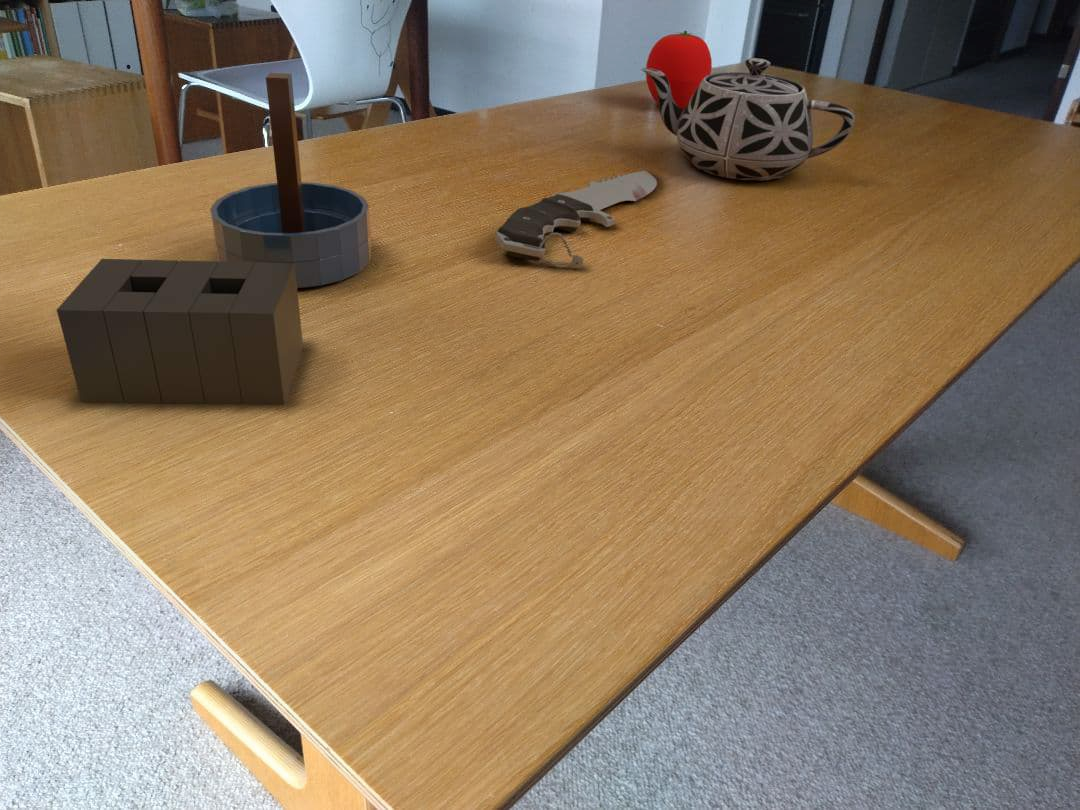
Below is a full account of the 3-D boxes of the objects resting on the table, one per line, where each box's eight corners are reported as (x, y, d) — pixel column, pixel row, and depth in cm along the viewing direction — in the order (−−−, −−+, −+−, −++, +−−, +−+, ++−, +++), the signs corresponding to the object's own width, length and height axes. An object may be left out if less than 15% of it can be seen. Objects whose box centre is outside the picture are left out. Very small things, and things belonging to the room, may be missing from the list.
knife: (590, 168, 123) (592, 138, 121) (662, 180, 120) (666, 150, 118) (483, 260, 94) (483, 223, 92) (574, 279, 91) (577, 241, 89)
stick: (285, 260, 90) (265, 77, 80) (288, 252, 91) (269, 72, 82) (305, 260, 90) (287, 78, 80) (308, 253, 92) (291, 73, 82)
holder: (81, 403, 67) (55, 309, 63) (121, 345, 75) (101, 258, 70) (284, 406, 68) (273, 313, 64) (303, 348, 76) (294, 262, 72)
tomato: (670, 119, 149) (680, 39, 142) (630, 104, 156) (638, 27, 149) (718, 113, 154) (731, 35, 147) (678, 98, 162) (688, 24, 155)
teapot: (649, 135, 140) (661, 34, 132) (846, 167, 131) (872, 61, 123) (611, 166, 125) (622, 55, 117) (831, 205, 116) (859, 87, 108)
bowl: (202, 292, 84) (192, 232, 81) (238, 232, 97) (230, 179, 94) (363, 295, 85) (359, 237, 82) (377, 236, 98) (374, 184, 95)
